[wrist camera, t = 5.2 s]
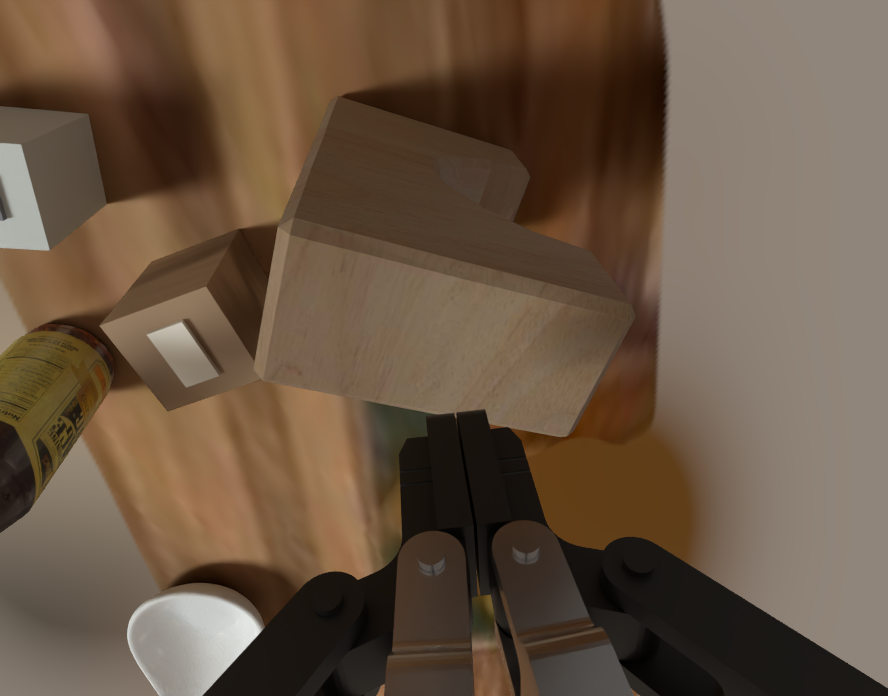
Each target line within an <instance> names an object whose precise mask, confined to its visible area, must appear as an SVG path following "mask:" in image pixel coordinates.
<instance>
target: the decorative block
mask: <svg viewBox="0 0 888 696" xmlns="http://www.w3.org/2000/svg"><path fill="white" fill-rule="evenodd" d="M529 179H530V175H529V173H528V171H527V169H526V168H525V167H524V165H523V164H522V163H521V161H520V160H519V159H518V158H517V156H516V155H515V154H514V152H513V151H512V150H510V149H507V148H504V147H500V146H497V145H494V144H491V143H488V142H484V141H481V140H478V139H475V138H471V137H468V136H465V135H462V134H459V133H455V132H452V131H449V130H446V129H443V128H439V127H436V126H433V125H430V124H427V123H423V122H420V121H417V120H414V119H410V118H407V117H404V116H401V115H398V114H394V113H391V112H388V111H385V110H381V109H378V108H375V107H372V106H368V105H365V104H362V103H359V102H356V101H352V100H349V99H346V98H343V97H339V96H338V97H336V98H335V99H333V100H331V101H330V103H329V106H328V108H327V111H326V113H325V115H324V118H323V120H322V123H321V125H320V127H319V130H318V132H317V134H316V137H315V139H314V142H313V144H312V146H311V149H310V151H309V154H308V156H307V158H306V161H305V163H304V166H303V168H302V171H301V173H300V175H299V178H298V180H297V182H296V185H295V187H294V190H293V192H292V194H291V197H290V199H289V201H288V204H287V206H286V209H285V211H284V213H283V216H282V218H281V221H280V223H279V225H278V229H277V235H276V241H275V246H274V252H273V258H272V264H271V270H270V276H269V281H268V287H267V293H266V299H265V305H264V310H263V316H262V322H261V328H260V334H259V339H258V345H257V351H256V357H255V363H254V369H253V370H254V371H255V372H256V373H257V374H258V375H259V377H260V378H261V379H262V380H263V381H266V382H271V383H276V384H282V385H287V386H292V387H297V388H302V389H308V390H313V391H318V392H323V393H328V394H334V395H339V396H344V397H349V398H355V399H360V400H365V401H370V402H375V403H381V404H386V405H391V406H396V407H402V408H407V409H412V410H417V411H422V412H428V413H433V414H446V413H454V414H455V418H457V417H456V413H457V412H463V411H472V410H481V409H485V410H486V414H487V418H488V422H489V424H493V425H498V426H503V427H509V428H514V429H520V430H525V431H531V432H536V433H541V434H547V435H552V436H558V437H564V436H568V435H569V434H570V433H572V432H573V431H574V429H575V427H576V426H577V424H578V422H579V420H580V418H581V416H582V415H583V413H584V411H585V409H586V407H587V405H588V403H589V402H590V400H591V398H592V396H593V394H594V392H595V391H596V389H597V387H598V385H599V383H600V381H601V380H602V378H603V376H604V374H605V372H606V370H607V369H608V367H609V365H610V363H611V361H612V359H613V358H614V356H615V354H616V352H617V350H618V348H619V346H620V345H621V343H622V341H623V339H624V337H625V335H626V334H627V332H628V330H629V328H630V326H631V324H632V323H633V321H634V319H635V317H636V316H635V313H634V311H633V308H632V305H631V304H630V302H629V301H628V300H627V298H626V297H625V296H624V294H623V293H622V292H621V291H620V289H619V288H618V287H617V285H616V284H615V283H614V282H613V280H612V279H611V278H610V276H609V275H608V274H607V273H606V271H605V270H604V269H603V267H602V266H601V265H600V263H599V262H598V261H597V260H596V258H595V257H594V256H593V254H592V253H591V252H590V251H588V250H585V249H582V248H579V247H576V246H573V245H570V244H568V243H565V242H562V241H559V240H556V239H553V238H550V237H547V236H544V235H541V234H539V233H536V232H533V231H531V230H529V229H527V228H525V227H523V226H520V225H518V224H516V223H514V222H513V221H514V218H515V216H516V213H517V210H518V208H519V205H520V203H521V200H522V197H523V195H524V192H525V190H526V187H527V184H528V182H529Z"/></svg>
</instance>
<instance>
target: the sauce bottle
mask: <svg viewBox="0 0 888 696" xmlns="http://www.w3.org/2000/svg"><path fill="white" fill-rule="evenodd" d="M113 377H114V364H113V358H112V354H111V353H110V351H109V350H108V348H107V347H106V346H105V345H103V344H102V343H101V342H100V341H99V340H98V339H97V338H95V337H94V336H93V335H92V334H90V333H88V332H86V331H84V330H82V329H79V328H76V327H73V326H68V325H63V324H45V325H42V326H39V327H37V328H35V329H33V330H31V331H30V332H28V333H27V334H25V335H24V336H22V337H20V338H19V339H17V340H16V341H15V342H13V343H12V344H11V345H10V346H9V347H8V348H7V349H6V350H5V351H4V352H3V353H2V354H1V355H0V533H1V532H2V531H4V530H5V529H6V528H8V527H9V526H10V525H12V524H13V523H15V522H16V521H17V520H19V519H20V518H22V517H23V516H24V515H25V514H27V513H28V512H29V511H30V509H31V508H32V506H33V505H34V503H35V501H36V500H37V499H38V497H39V496H40V494H41V493H42V491H43V490H44V489H45V487H46V485H47V484H48V482H49V481H50V479H51V478H52V476H53V475H54V473H55V472H56V471H57V469H58V468H59V466H60V465H61V463H62V462H63V460H64V459H65V457H66V456H67V455H68V453H69V451H70V450H71V448H72V447H73V445H74V444H75V442H76V441H77V439H78V438H79V436H80V435H81V433H82V432H83V430H84V429H85V427H86V426H87V424H88V423H89V421H90V420H91V418H92V417H93V415H94V414H95V412H96V411H97V409H98V408H99V406H100V405H101V403H102V402H103V400H104V399H105V397H106V396H107V394H108V392H109V389H110V386H111V384H112V381H113Z"/></svg>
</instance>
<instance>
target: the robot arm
mask: <svg viewBox="0 0 888 696" xmlns="http://www.w3.org/2000/svg"><path fill="white" fill-rule="evenodd" d="M456 417H457V425H456V419H455V414H454V413H446V414H437V415H428V416H426V422H427V432H428V436H427V437H418V438H409V439H407V440H406V442H405V444H404V446H403V448H402V450H401V452H400V454H399V464H400V486H401V488H400V490H401V515H402V543H401V547H400V550H399V552H398V553H397V555H396V557H395V558H394V559H393V560H392V561H391V562H390V563H389V564H388V565H387V566H386V567H384V568H383V569H381V570H379V571H377V572H375V573H373V574H371V575H368V576H366V577H364V578H362V579H359V580H357V579H356V578H355V577H353V576H352V575H350V574H347V573H344V572H328V573H323V574H321V575H318V576H316V577H314V578H312V579H311V580H310V581H308V582H307V583H306V584H305V585H304V586H303V587H302V588H301V589H300V590H299V591H298V592H297V593H296V594H295V595H294V596H293V598H292V599H291V600H290V601H289V602H288V603H287V604H286V605H285V606H284V607H283V608H282V610H281V611H280V612H279V613H278V614H277V615H276V616H275V617H274V618H273V619H272V620H271V621H270V623H269V624H268V625H267V626H266V627H265V628H264V629H263V630H262V631H261V632H260V633H259V635H258V636H257V637H256V638H255V639H254V640H253V641H252V642H251V643H250V644H249V645H248V646H247V648H246V649H245V650H244V651H243V652H242V653H241V654H240V655H239V656H238V657H237V658H236V660H235V661H234V662H233V663H232V664H231V665H230V666H229V667H228V668H227V669H226V670H225V671H224V673H223V674H222V675H221V676H220V677H219V678H218V679H217V680H216V681H215V682H214V683H213V685H212V686H211V687H210V688H209V689H208V690H207V691H206V692H205V693H204V694H203V695H202V696H376V695H377V693H378V691H379V689H380V686H381V685H383V684H385V692H384V696H475V691H474V674H473V657H472V640H471V630H472V627H473V611H472V597H476V596H478V592H477V576H478V582H479V588H480V594H481V596H482V595H490V594H491V598H492V603H493V609H494V624H495V632H496V635H497V639H498V643H499V647H500V651H501V655H502V659H503V663H504V666H505V670H506V674H507V678H508V682H509V686H510V690H511V694H512V696H634V695H633V692H632V690H631V689H633V690H634V691H635V692H636V693H638V694H639V695H640V696H888V688H886V687H885V686H883V685H882V684H880V683H878V682H877V681H875V680H873V679H872V678H870V677H869V676H867V675H865V674H864V673H862V672H861V671H859V670H857V669H856V668H854V667H853V666H851V665H849V664H848V663H846V662H845V661H843V660H841V659H840V658H838V657H836V656H835V655H833V654H832V653H830V652H828V651H827V650H825V649H824V648H822V647H820V646H819V645H817V644H816V643H814V642H812V641H810V640H809V639H807V638H806V637H804V636H803V635H801V634H799V633H798V632H796V631H795V630H793V629H791V628H790V627H788V626H787V625H785V624H783V623H782V622H780V621H778V620H777V619H775V618H774V617H772V616H771V615H769V614H767V613H766V612H764V611H763V610H761V609H759V608H758V607H756V606H754V605H753V604H751V603H749V602H748V601H746V600H745V599H743V598H742V597H740V596H738V595H737V594H735V593H734V592H732V591H730V590H728V589H727V588H725V587H724V586H722V585H721V584H719V583H718V582H716V581H714V580H712V579H711V578H709V577H708V576H706V575H705V574H703V573H701V572H700V571H698V570H696V569H695V568H693V567H692V566H690V565H689V564H687V563H685V562H684V561H682V560H681V559H679V558H677V557H676V556H674V555H673V554H671V553H669V552H668V551H666V550H664V549H663V548H661V547H660V546H658V545H656V544H655V543H653V542H651V541H648V540H646V539H642V538H637V537H624V538H619V539H617V540H614V541H613V542H611V543H610V544H609V545H608V546H607V547H606V548H605V550H604V551H603V550H598V549H592V548H585V547H580V546H576V545H573V544H570V543H568V542H566V541H564V540H562V539H561V538H559V537H558V536H557V535H556V534H554V533H553V531H552V530H551V529H550V528H549V526H548V525H547V522H546V520H545V517H544V514H543V511H542V507H541V504H540V501H539V497H538V494H537V491H536V488H535V485H534V481H533V478H532V475H531V472H530V468H529V465H528V461H527V459H526V455H525V452H524V448H523V445H522V442H521V440H520V439H519V438H518V437H517V435H516V434H515V433H514V432H513V431H512V430H511V429H510V428H509V427H505V428H496V429H490V426H489V422H488V418H487V414H486V410H485V409H481V410H472V411H463V412H457V413H456ZM476 570H477V575H476Z"/></svg>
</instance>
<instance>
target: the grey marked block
mask: <svg viewBox="0 0 888 696" xmlns="http://www.w3.org/2000/svg"><path fill="white" fill-rule="evenodd" d="M106 204H107V202H106V197H105V192H104V188H103V183H102V178H101V173H100V168H99V163H98V158H97V153H96V149H95V144H94V139H93V134H92V129H91V124H90V119H89V115H88V114H85V113H73V112H62V111H51V110H39V109H28V108H17V107H5V106H0V248H14V249H31V250H48V251H50V250H51V249H52V248H54V247H55V246H56V245H57V244H58V243H60V242H61V241H62V240H63V239H65V238H66V237H67V236H68V235H70V234H71V233H72V232H73V231H74V230H76V229H77V228H78V227H79V226H81V225H82V224H83V223H84V222H85V221H87V220H88V219H89V218H90V217H92V216H93V215H94V214H95V213H96V212H98V211H99V210H100V209H101V208H103V207H104V206H105V205H106Z"/></svg>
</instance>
